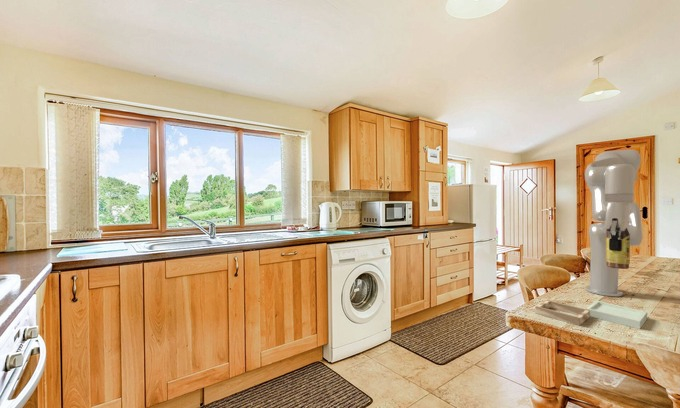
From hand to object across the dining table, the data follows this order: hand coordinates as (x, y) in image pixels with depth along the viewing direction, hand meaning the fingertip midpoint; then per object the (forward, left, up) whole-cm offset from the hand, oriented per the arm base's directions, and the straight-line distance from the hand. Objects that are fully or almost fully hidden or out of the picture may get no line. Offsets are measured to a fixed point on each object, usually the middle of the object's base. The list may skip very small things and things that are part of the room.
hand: (617, 249), depth 105 cm
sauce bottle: (0, 0, -7) cm, 7 cm away
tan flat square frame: (+14, -12, -24) cm, 31 cm away
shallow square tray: (0, 0, -24) cm, 24 cm away
